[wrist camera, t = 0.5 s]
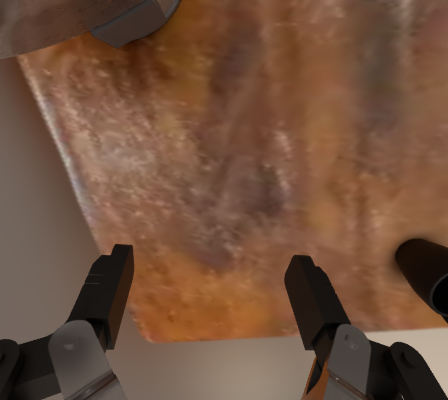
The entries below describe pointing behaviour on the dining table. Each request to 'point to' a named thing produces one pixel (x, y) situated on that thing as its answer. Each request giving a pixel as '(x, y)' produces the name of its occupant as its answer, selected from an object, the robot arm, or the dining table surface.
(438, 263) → the mug
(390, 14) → the dining table surface
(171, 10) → the oval food canister
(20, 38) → the lid
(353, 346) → the robot arm
